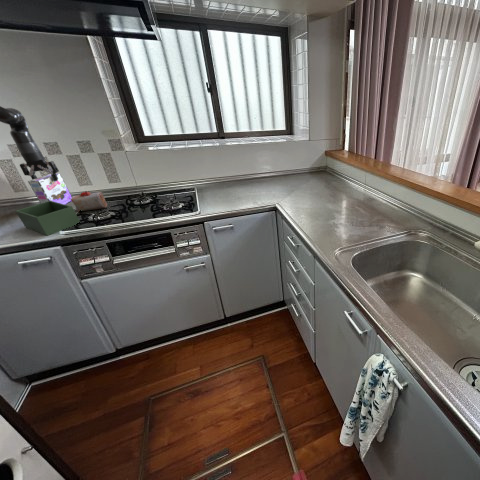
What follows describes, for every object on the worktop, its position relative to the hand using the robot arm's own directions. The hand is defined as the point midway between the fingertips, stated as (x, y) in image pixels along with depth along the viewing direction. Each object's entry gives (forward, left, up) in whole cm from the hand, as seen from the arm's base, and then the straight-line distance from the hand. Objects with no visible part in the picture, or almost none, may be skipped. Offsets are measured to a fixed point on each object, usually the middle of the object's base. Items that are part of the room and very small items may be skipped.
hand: (46, 181), depth 146 cm
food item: (+21, -13, -14) cm, 28 cm away
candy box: (0, 0, -14) cm, 14 cm away
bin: (+11, -31, -14) cm, 36 cm away
